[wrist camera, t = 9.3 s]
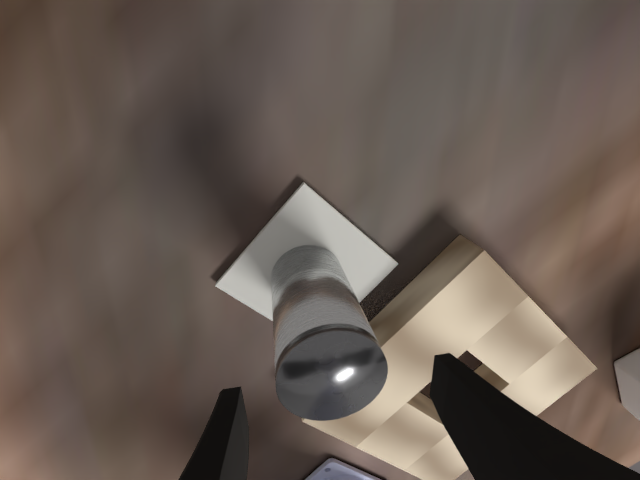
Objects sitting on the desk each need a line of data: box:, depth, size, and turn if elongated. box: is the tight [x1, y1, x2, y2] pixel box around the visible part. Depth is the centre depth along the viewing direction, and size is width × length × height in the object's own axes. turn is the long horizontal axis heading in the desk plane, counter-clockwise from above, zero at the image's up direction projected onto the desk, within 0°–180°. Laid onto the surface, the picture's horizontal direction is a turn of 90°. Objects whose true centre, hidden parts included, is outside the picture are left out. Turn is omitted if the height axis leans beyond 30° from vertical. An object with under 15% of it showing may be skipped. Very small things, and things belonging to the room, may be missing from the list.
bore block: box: [302, 234, 597, 480], centre depth 24 cm, size 16×16×2 cm
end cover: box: [271, 245, 388, 421], centre depth 16 cm, size 4×4×8 cm
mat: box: [215, 182, 398, 321], centre depth 20 cm, size 8×8×1 cm
